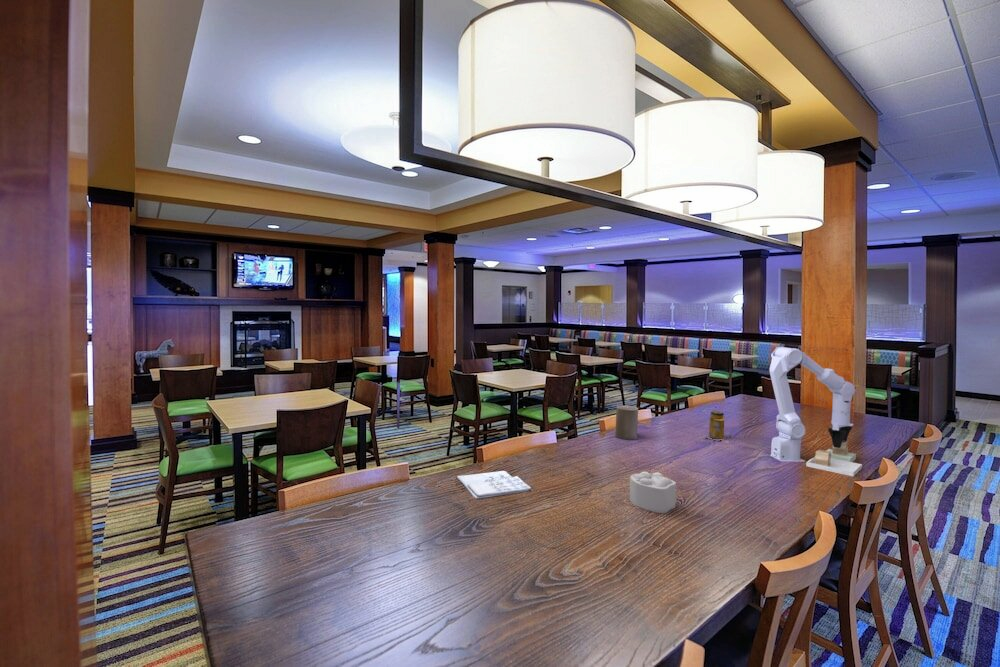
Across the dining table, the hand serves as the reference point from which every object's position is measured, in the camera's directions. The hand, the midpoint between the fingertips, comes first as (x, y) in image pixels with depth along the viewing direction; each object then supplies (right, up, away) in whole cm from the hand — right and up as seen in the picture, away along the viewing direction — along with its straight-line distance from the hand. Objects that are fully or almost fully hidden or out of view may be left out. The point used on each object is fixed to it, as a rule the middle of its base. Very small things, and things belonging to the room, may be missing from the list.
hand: (839, 445), depth 186 cm
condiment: (-35, -4, +30) cm, 46 cm away
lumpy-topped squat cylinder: (-88, -8, -43) cm, 98 cm away
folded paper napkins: (-136, -7, -28) cm, 139 cm away
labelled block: (0, -3, 0) cm, 3 cm away
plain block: (-12, -6, -8) cm, 15 cm away
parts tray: (-9, -6, -10) cm, 15 cm away
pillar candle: (-75, -4, +31) cm, 81 cm away
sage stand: (0, -6, 0) cm, 6 cm away
